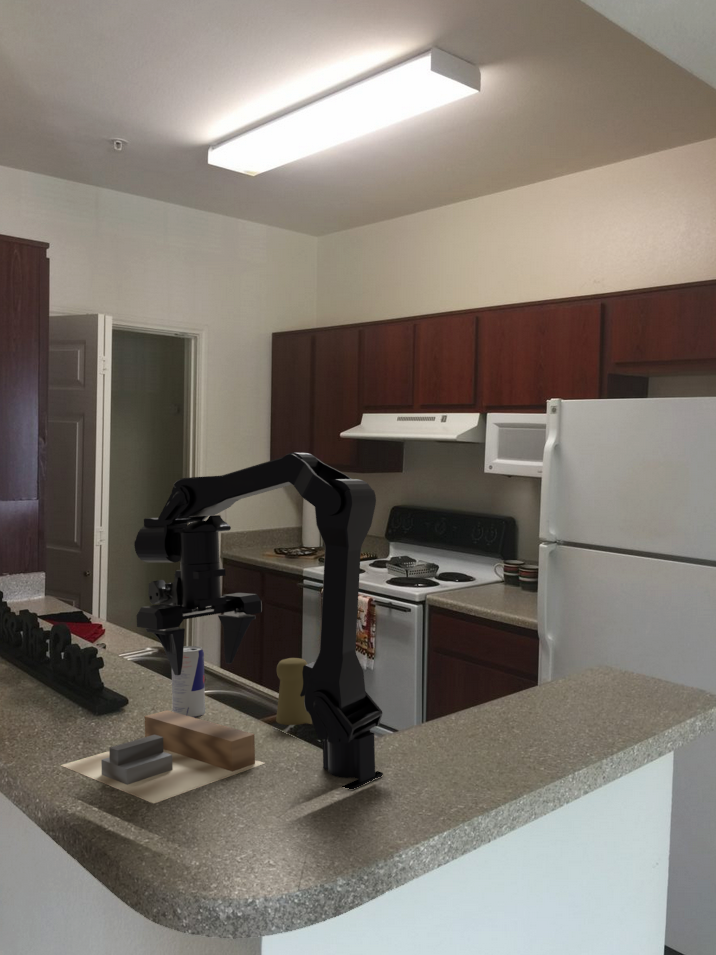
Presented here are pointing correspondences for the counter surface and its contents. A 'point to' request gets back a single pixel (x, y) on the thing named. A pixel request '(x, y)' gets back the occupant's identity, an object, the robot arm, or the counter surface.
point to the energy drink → (189, 684)
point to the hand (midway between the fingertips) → (203, 669)
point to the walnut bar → (202, 740)
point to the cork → (291, 693)
